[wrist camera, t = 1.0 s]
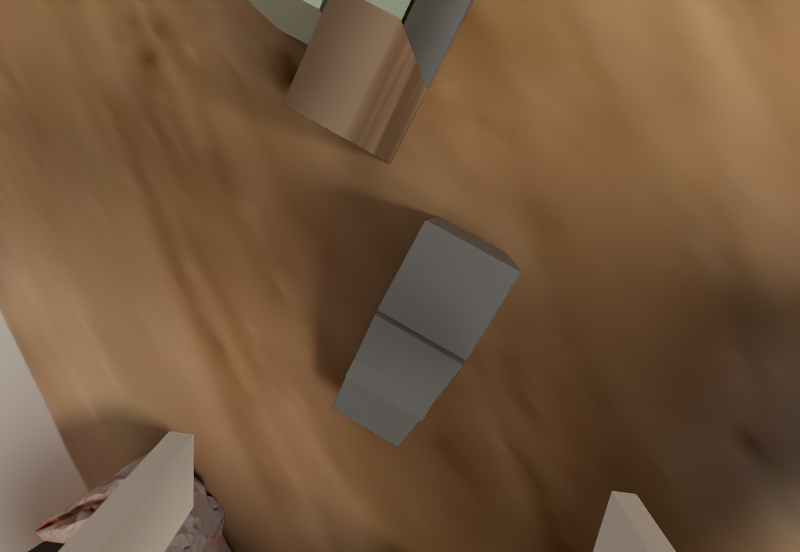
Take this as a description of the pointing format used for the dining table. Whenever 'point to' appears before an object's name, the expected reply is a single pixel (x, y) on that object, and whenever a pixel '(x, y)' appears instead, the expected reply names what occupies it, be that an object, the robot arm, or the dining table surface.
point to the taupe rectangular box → (372, 69)
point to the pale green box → (311, 14)
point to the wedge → (424, 328)
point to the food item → (191, 546)
